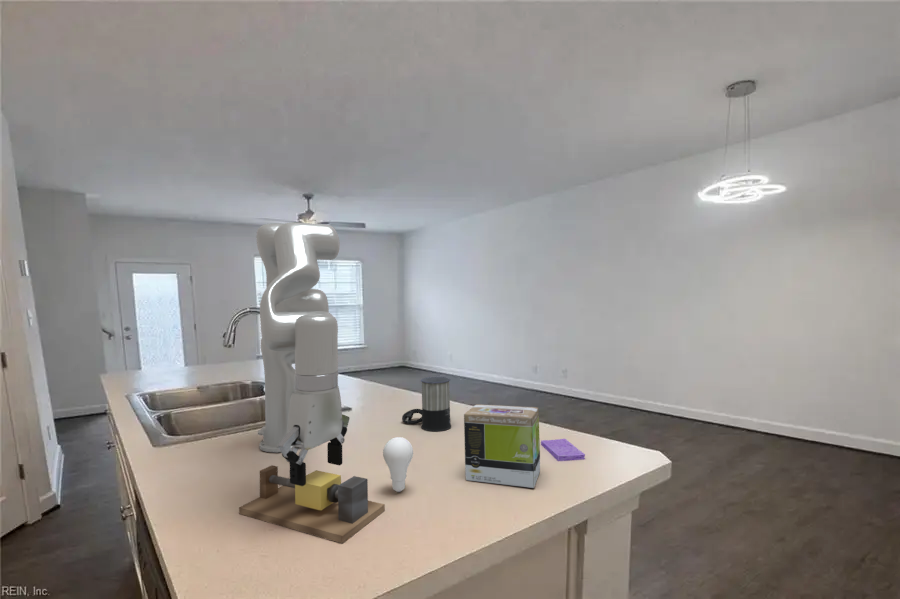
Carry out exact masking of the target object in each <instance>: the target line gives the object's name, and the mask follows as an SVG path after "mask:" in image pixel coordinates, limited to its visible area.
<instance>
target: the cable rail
mask: <svg viewBox="0 0 900 599" xmlns="http://www.w3.org/2000/svg"><path fill="white" fill-rule="evenodd" d="M278 469H279V466H276V465H272V464H271V465H269V466H267V467H265V468H263V469H260V470H259V497H257V498H255V499H253V500H250V501H249V502H247V503H245V504H243V505H241V506H239V508H238V513H239V515H241V516H244V517H249V518H252V519H255V520H260V521H264V522H266V523H270V524H274V525H277V526H280V527H283V528H287V529H292V530H294V531H297V530H298V531H297V532H301V531H302V532H301V533H304V532H305V534H308V535H311V536H315V537H318V536H319V537H318V538H322V539H325V538H326V540H329V541H333V542H336V543H340V544H344V543H345V542H347V541H348V540H349V539H350V538H352V537H353V536H354V535H356V534H357V533H358V532H359V531H361V530H362V529H363V528H365V527H366V526H367V525H369V524H370V523H371V522H373V520H375V519H377V517H379V516H380V515H381V514H382V513H383V512H385V511H386V510H385V509H386V505H385V504H384V503H381V502H376V501H372V500H369V496H368V495H369V494H368V493H369V492H368V491H369V490H368V486H369V485H368V483H369V482H368V478H365V477H361V476H360V477H359V476H356V475H354V476H351V477H350V478H348V479H347V480H344V481H343V482H341V484H340V485H338V484H333V485H332V486H331V487H330V488H327V497H328V500H329V501H330V502H333V503H332V504H331V505H329V506H327V507H326V508H324V509H323V510H317V509H313V508H309V507H305V506H301V505H297V504H295V484H292V483H290V478H288V477H283V476H279V470H278Z"/></svg>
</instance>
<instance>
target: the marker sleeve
mask: <svg viewBox="0 0 900 599" xmlns="http://www.w3.org/2000/svg"><path fill="white" fill-rule="evenodd" d="M341 483H342V475H341V474H337V473H331V472H327V471H321V470H314V471H312V472H310V473H308V474H306V484H305V485H304V486H299V485H295V504H297V505H301V506H305V507H309V508H313V509H317V510H323V509H324V508H326V507H327V506H329V505H331V504H332V503H333V502H330V501H329V500H328V497H327V488H330V487H331V486H332V485H333V484H338V485H340V484H341Z"/></svg>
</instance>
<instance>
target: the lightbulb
mask: <svg viewBox="0 0 900 599" xmlns="http://www.w3.org/2000/svg"><path fill="white" fill-rule="evenodd" d="M382 450H383V451H382V456H383V459H384V462H385V464H386V465H387V467H388V469H389V473H390V479H391V485H392V486H391V487H392V490H393V491H396V492H397V493H400V492H402V491H403V490H404V489H406V479H407V473H408V472H407V471H408V468H409V466H410V463H411V461H412V459H413V456H414V448H413V446H412V443H411V442H410V441H409V440H408V439H407V438H405V437H402V436H401V437H400V436H396V437H393V438H391V439H390V440H388V441H387V442H386V444H385V445H384V447H383V449H382Z"/></svg>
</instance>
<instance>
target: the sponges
mask: <svg viewBox="0 0 900 599" xmlns="http://www.w3.org/2000/svg"><path fill="white" fill-rule="evenodd" d="M540 446H541V447H542V448H544V449H545V450H546V451H547V452H548V453H549V454H550V455H551V456H552V457H553V458H554V459H555V460H556V461H557V462H567V461H580V460H586V458H585V457H586V453H584V452H583V451H582V450H580V449H579V448H578V447H576V445H574V444H573V443H571V442H570V441H569V440H568V439H567V438H558V439H549V440H548V439H544V440H542V439H541V440H540Z"/></svg>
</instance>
